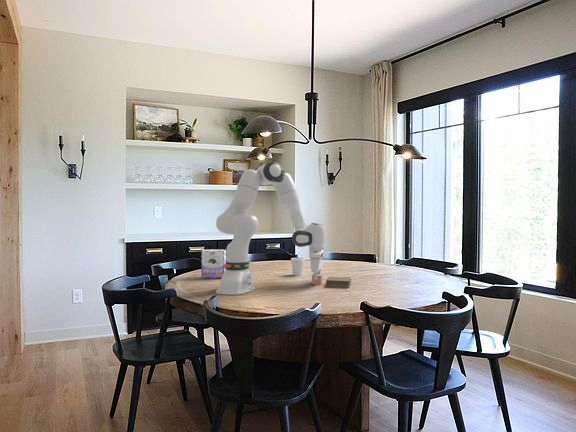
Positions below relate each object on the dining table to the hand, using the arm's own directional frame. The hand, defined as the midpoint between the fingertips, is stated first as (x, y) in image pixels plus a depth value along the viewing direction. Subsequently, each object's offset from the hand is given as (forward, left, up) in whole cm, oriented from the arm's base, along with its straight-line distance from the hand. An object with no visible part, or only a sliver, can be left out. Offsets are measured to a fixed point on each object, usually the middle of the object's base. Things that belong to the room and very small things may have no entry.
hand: (317, 277), depth 257 cm
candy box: (+4, +62, -3) cm, 62 cm away
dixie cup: (+24, +16, -3) cm, 29 cm away
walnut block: (-3, -12, -4) cm, 13 cm away
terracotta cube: (-1, 0, -3) cm, 3 cm away
